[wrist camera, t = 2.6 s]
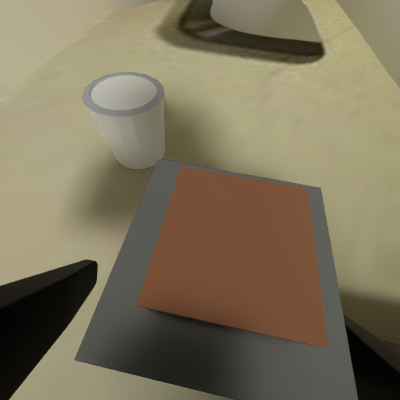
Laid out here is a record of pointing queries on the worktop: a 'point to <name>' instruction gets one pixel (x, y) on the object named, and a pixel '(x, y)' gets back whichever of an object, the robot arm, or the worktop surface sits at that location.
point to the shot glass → (129, 116)
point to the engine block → (226, 290)
